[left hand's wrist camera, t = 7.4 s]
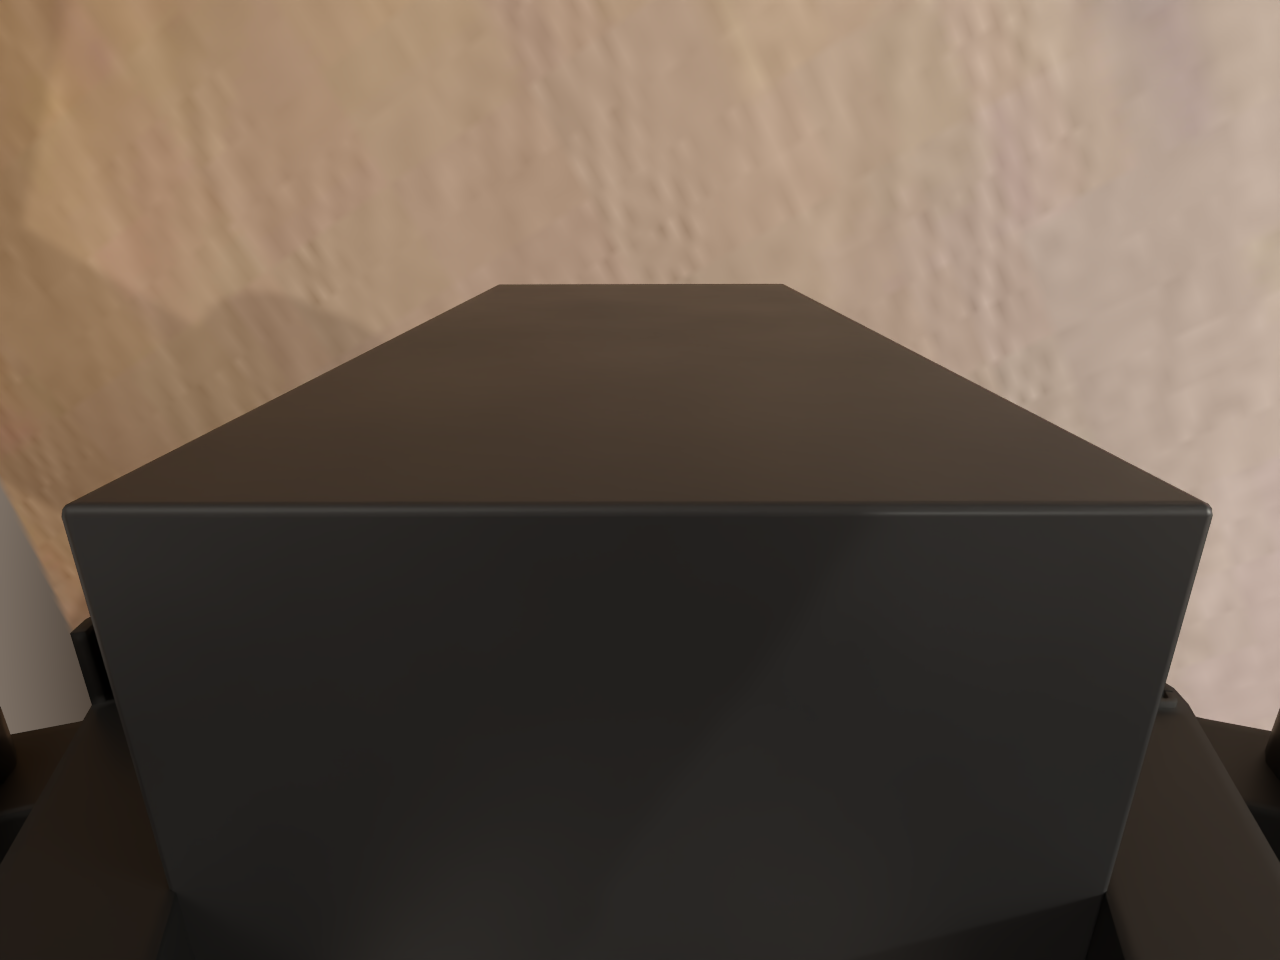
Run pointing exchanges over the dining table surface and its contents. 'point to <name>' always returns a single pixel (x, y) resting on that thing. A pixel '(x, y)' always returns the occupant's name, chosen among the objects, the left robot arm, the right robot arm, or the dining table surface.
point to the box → (638, 645)
